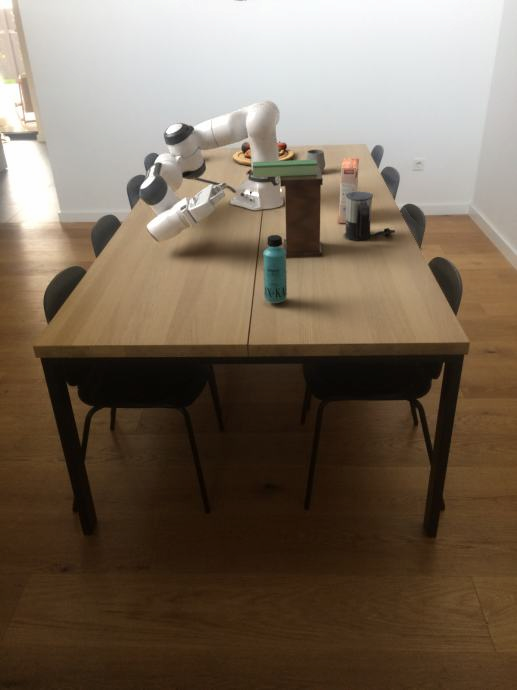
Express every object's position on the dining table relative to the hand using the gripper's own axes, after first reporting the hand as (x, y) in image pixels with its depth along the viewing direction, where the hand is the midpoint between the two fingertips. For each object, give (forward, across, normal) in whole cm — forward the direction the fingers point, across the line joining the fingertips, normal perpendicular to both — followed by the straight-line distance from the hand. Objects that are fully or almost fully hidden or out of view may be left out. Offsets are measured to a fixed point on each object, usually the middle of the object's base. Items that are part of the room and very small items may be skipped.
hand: (225, 188), depth 186 cm
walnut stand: (+10, 0, -31) cm, 33 cm away
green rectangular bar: (+19, 0, -6) cm, 20 cm away
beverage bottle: (+2, +38, -27) cm, 46 cm away
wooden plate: (-2, -122, -24) cm, 124 cm away
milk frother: (+31, -10, -44) cm, 55 cm away
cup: (+19, -92, -37) cm, 101 cm away
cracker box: (+27, -30, -41) cm, 57 cm away
